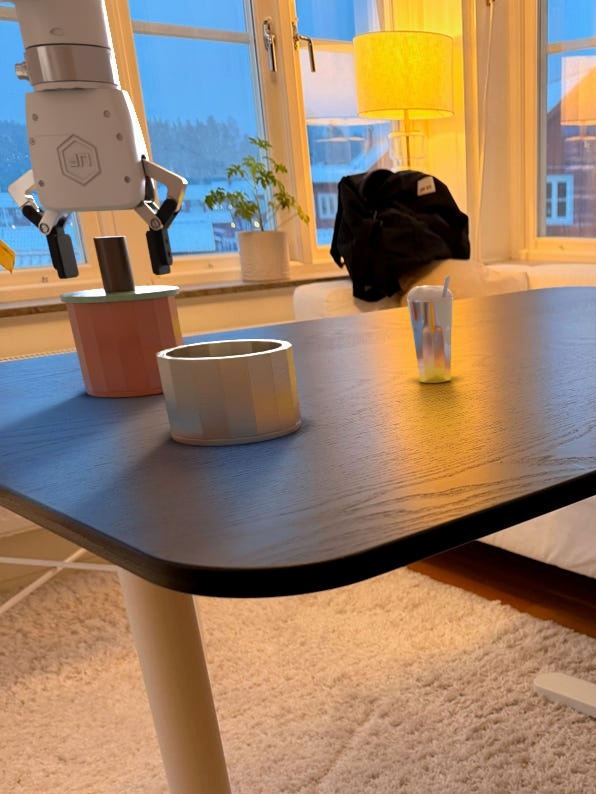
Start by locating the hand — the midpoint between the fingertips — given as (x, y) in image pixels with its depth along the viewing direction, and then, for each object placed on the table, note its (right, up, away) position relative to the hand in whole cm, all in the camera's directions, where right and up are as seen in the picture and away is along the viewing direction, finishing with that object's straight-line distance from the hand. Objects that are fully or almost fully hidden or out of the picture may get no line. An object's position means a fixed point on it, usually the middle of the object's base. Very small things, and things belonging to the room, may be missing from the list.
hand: (115, 275), depth 89 cm
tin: (+17, -19, -16) cm, 30 cm away
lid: (0, -2, +1) cm, 2 cm away
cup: (0, -10, +5) cm, 11 cm away
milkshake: (+32, -10, +2) cm, 34 cm away
